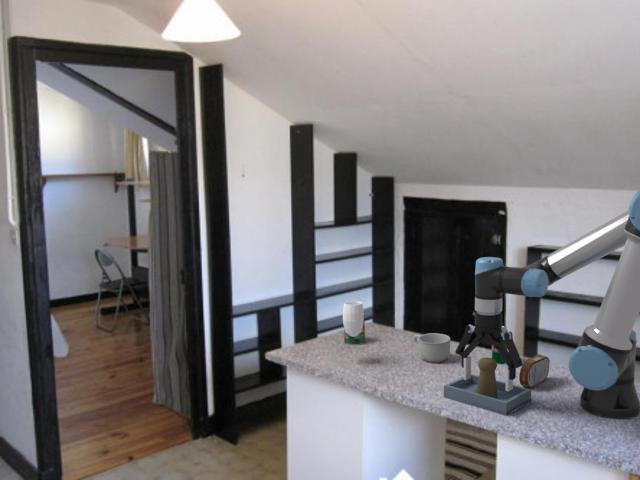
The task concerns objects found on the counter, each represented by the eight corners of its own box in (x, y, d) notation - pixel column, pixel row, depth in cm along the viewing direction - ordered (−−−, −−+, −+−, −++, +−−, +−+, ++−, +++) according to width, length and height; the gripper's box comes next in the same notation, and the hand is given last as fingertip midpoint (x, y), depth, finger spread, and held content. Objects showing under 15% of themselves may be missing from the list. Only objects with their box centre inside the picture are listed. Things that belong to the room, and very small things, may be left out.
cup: (361, 366, 217) (360, 306, 214) (340, 364, 219) (339, 304, 216) (366, 359, 223) (366, 301, 221) (346, 358, 226) (345, 300, 223)
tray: (531, 401, 184) (531, 389, 183) (505, 415, 174) (506, 403, 173) (470, 384, 198) (470, 373, 197) (443, 396, 188) (443, 385, 188)
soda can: (488, 361, 220) (489, 327, 218) (498, 358, 223) (498, 324, 221) (500, 364, 216) (501, 330, 214) (510, 361, 219) (511, 327, 217)
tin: (541, 376, 204) (542, 351, 203) (551, 379, 202) (551, 353, 201) (517, 389, 193) (518, 362, 192) (527, 391, 191) (528, 364, 190)
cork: (498, 400, 182) (499, 362, 181) (476, 398, 183) (477, 361, 182) (497, 392, 188) (497, 356, 187) (475, 391, 189) (476, 355, 188)
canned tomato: (358, 346, 240) (358, 317, 238) (340, 343, 244) (339, 315, 242) (368, 341, 246) (368, 313, 245) (350, 338, 250) (350, 310, 249)
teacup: (456, 360, 221) (456, 338, 220) (433, 366, 215) (433, 343, 214) (428, 351, 232) (428, 329, 231) (405, 356, 226) (405, 334, 225)
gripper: (536, 316, 176) (534, 391, 179) (458, 303, 194) (457, 371, 197) (522, 321, 171) (521, 398, 174) (443, 307, 189) (443, 377, 191)
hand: (487, 384), depth 185 cm, fingers open, 13 cm apart
